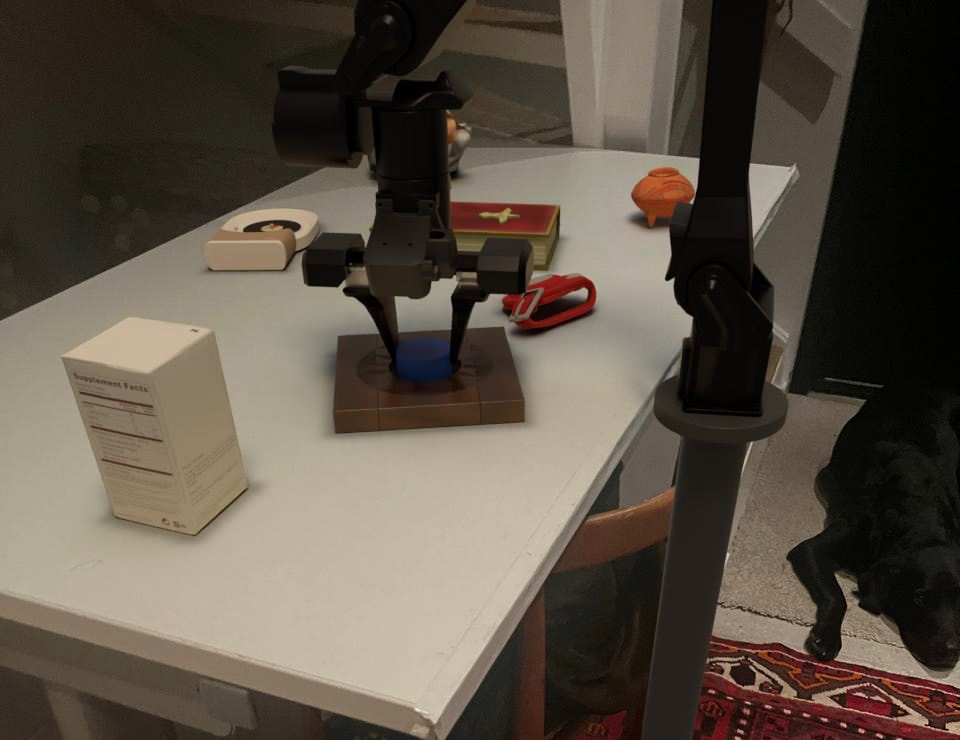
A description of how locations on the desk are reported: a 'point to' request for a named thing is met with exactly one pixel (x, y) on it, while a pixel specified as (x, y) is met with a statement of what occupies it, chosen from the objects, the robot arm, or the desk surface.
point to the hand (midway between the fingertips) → (424, 361)
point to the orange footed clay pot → (661, 192)
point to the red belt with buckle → (548, 299)
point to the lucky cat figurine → (456, 143)
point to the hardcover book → (507, 226)
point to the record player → (261, 239)
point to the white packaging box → (159, 422)
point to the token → (424, 360)
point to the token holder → (426, 385)
